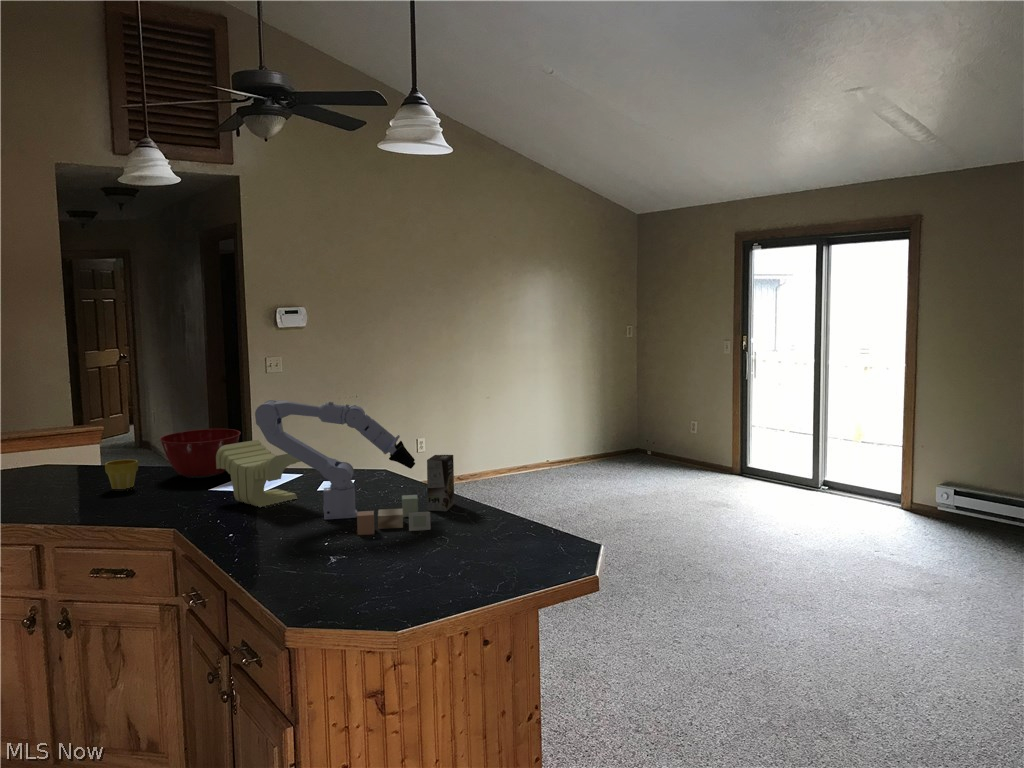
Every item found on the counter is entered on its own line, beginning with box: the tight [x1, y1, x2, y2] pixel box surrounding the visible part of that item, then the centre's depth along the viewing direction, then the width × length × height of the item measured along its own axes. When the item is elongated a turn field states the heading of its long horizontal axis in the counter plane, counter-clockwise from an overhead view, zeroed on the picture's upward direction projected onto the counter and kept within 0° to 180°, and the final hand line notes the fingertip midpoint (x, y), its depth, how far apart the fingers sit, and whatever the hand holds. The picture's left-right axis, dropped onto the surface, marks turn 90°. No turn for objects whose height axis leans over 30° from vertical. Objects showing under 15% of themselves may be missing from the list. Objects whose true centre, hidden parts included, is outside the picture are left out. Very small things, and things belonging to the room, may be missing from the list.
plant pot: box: [104, 459, 139, 490], centre depth 278 cm, size 10×10×10 cm
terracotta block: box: [356, 510, 375, 536], centre depth 223 cm, size 5×5×6 cm
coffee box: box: [426, 454, 455, 512], centre depth 248 cm, size 9×6×16 cm
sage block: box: [401, 494, 419, 518], centre depth 241 cm, size 5×5×6 cm
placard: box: [408, 511, 432, 532], centre depth 224 cm, size 6×1×5 cm, turn 100°
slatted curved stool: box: [216, 439, 302, 508], centre depth 258 cm, size 30×16×18 cm, turn 50°
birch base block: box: [377, 508, 404, 530], centre depth 230 cm, size 7×7×4 cm
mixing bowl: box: [159, 428, 241, 477], centre depth 299 cm, size 28×28×16 cm
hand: (413, 464), depth 241 cm, fingers open, 7 cm apart
